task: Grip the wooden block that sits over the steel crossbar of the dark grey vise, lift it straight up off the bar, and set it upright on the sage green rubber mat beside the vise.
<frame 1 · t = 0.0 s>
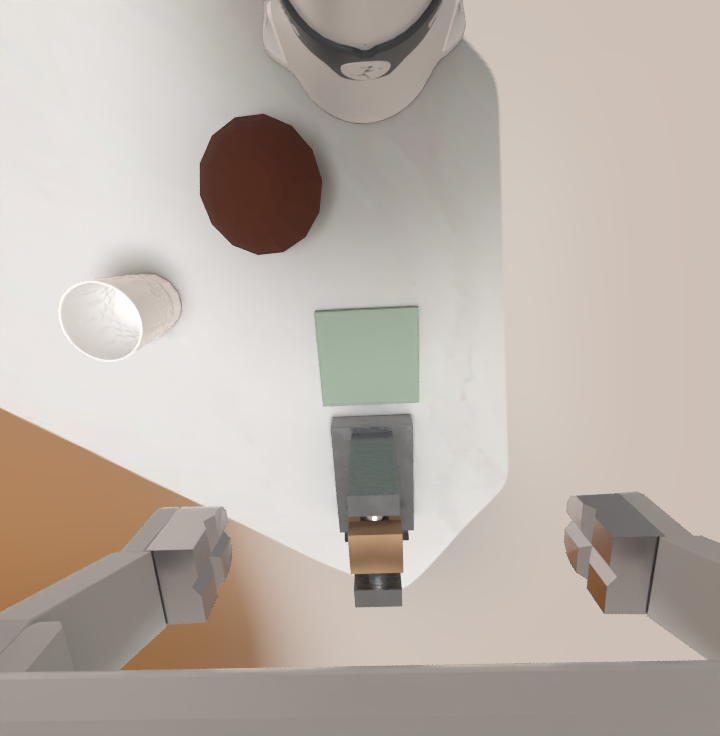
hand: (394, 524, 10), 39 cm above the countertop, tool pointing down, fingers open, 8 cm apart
mat: (368, 357, 49), on the countertop
vise: (373, 468, 55), on the countertop
wooden block: (374, 502, 48), point 7 cm above the countertop, touching vise
white cup: (154, 302, 47), on the countertop
muffin: (276, 192, 43), on the countertop
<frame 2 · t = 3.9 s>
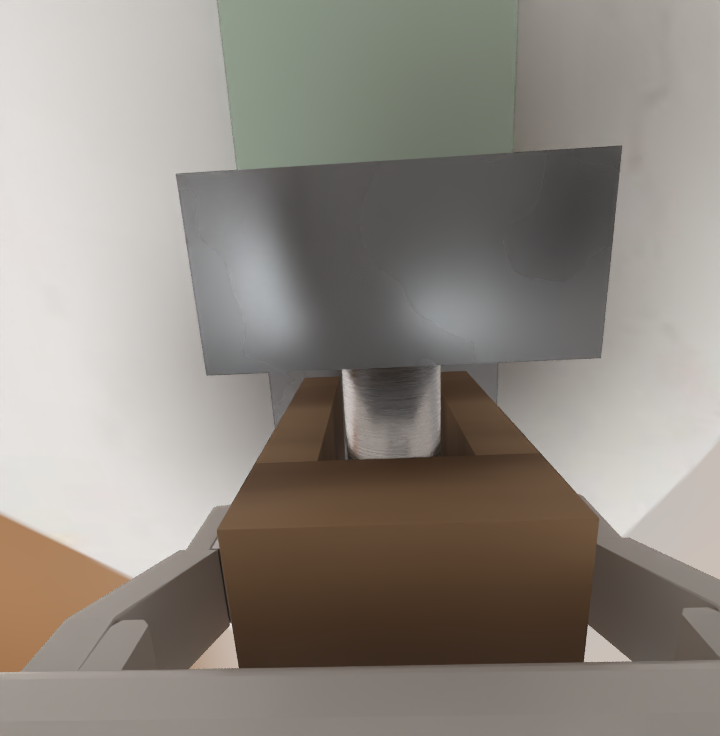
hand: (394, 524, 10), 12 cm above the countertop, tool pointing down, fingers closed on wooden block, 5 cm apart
mat: (367, 20, 17), on the countertop
vise: (381, 384, 21), on the countertop
wooden block: (387, 443, 14), point 7 cm above the countertop, touching gripper, vise
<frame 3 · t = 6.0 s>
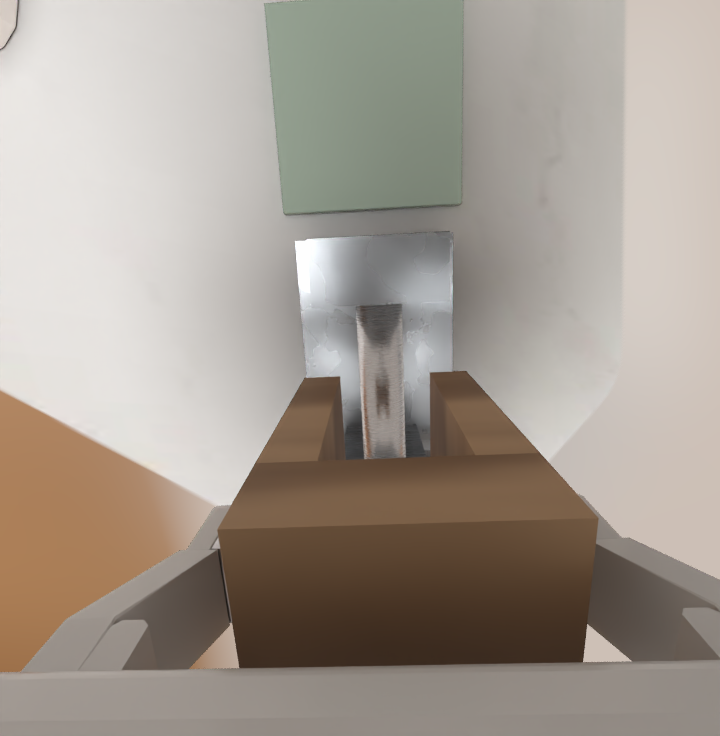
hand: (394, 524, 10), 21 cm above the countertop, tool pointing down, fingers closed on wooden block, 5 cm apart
mat: (367, 112, 26), on the countertop
vise: (377, 351, 30), on the countertop
wooden block: (387, 443, 14), point 17 cm above the countertop, touching gripper
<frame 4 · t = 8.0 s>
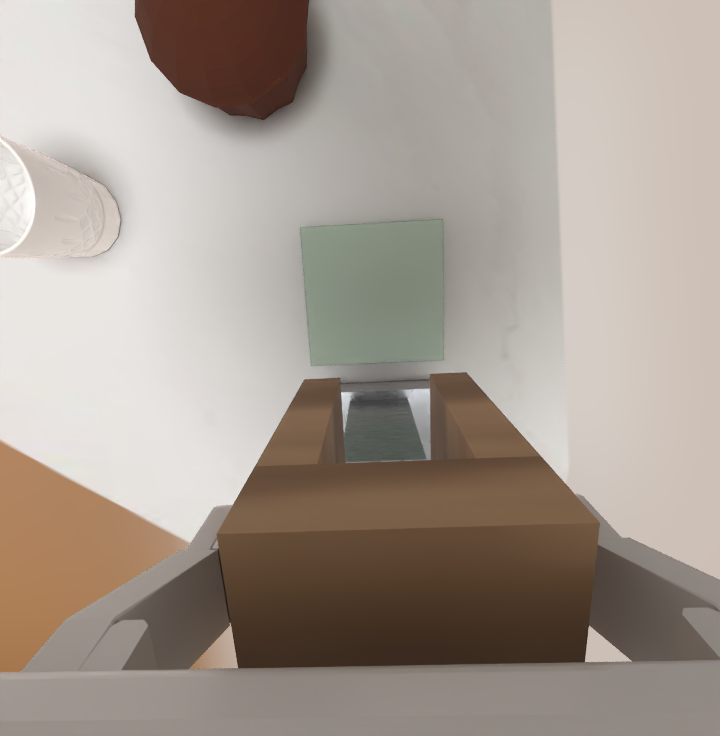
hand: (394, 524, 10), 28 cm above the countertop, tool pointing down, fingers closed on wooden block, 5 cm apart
mat: (373, 295, 36), on the countertop
vise: (381, 461, 39), on the countertop
wooden block: (387, 444, 14), point 23 cm above the countertop, touching gripper
white cup: (84, 217, 35), on the countertop
muffin: (251, 61, 32), on the countertop
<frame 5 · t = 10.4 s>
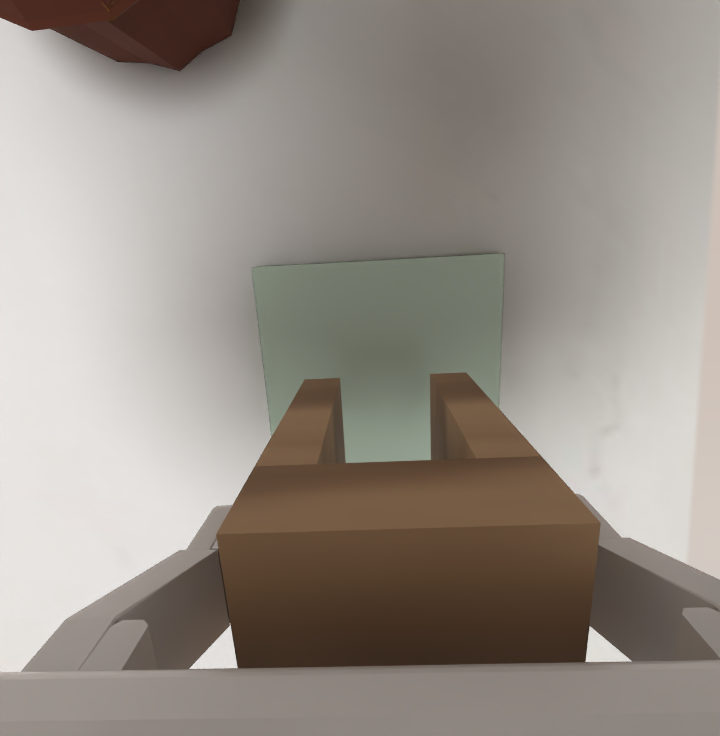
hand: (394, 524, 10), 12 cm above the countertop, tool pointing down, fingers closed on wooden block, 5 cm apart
mat: (381, 377, 21), on the countertop
wooden block: (387, 444, 14), point 8 cm above the countertop, touching gripper
when the fingers open (7 cm above the countertop, at t = 12.3 s): wooden block drops 1 cm, resting on mat.
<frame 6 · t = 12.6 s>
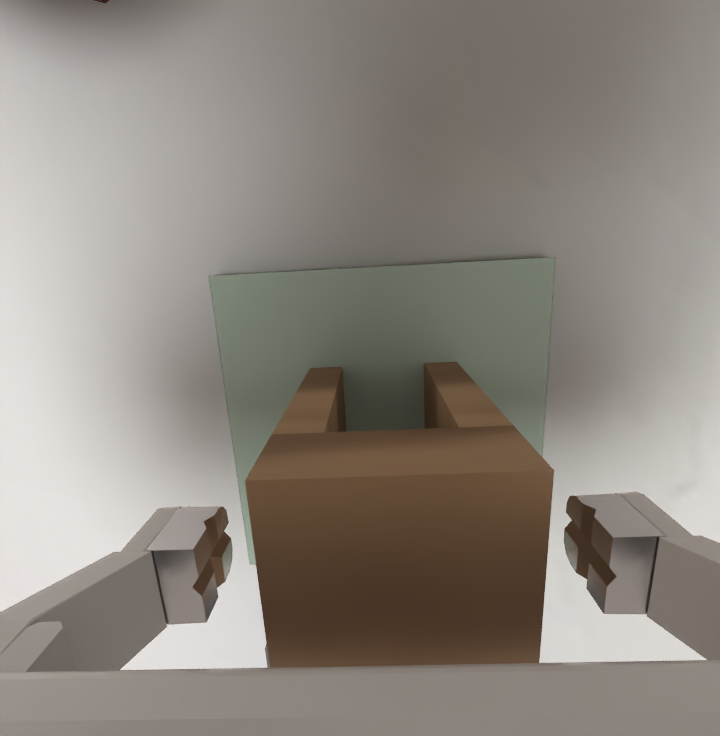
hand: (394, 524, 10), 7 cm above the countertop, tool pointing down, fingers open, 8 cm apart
mat: (384, 419, 16), on the countertop
wooden block: (385, 428, 15), point 1 cm above the countertop, touching mat
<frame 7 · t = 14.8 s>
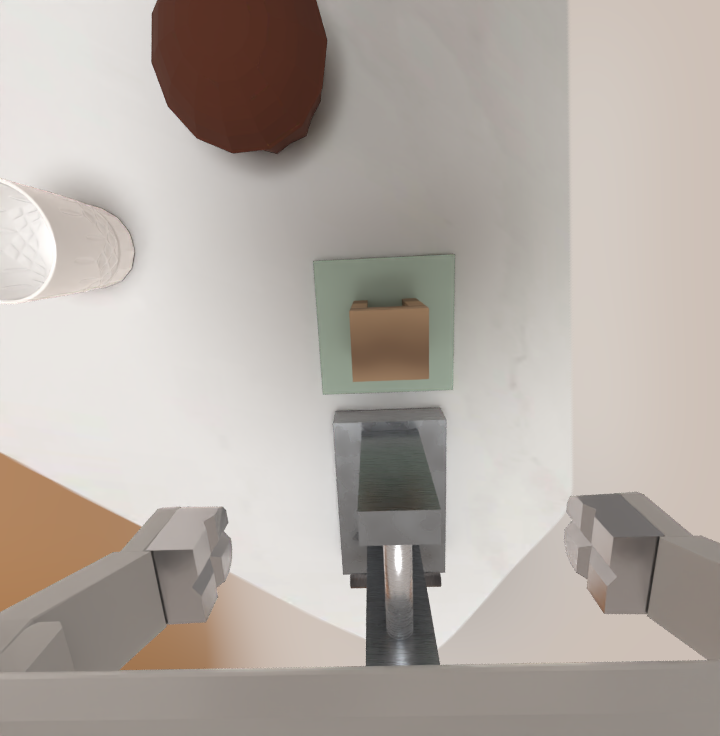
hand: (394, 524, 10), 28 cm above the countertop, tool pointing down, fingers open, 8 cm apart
mat: (385, 326, 36), on the countertop
vise: (390, 484, 40), on the countertop
wooden block: (385, 327, 36), point 1 cm above the countertop, touching mat
white cup: (98, 247, 35), on the countertop
muffin: (265, 94, 32), on the countertop
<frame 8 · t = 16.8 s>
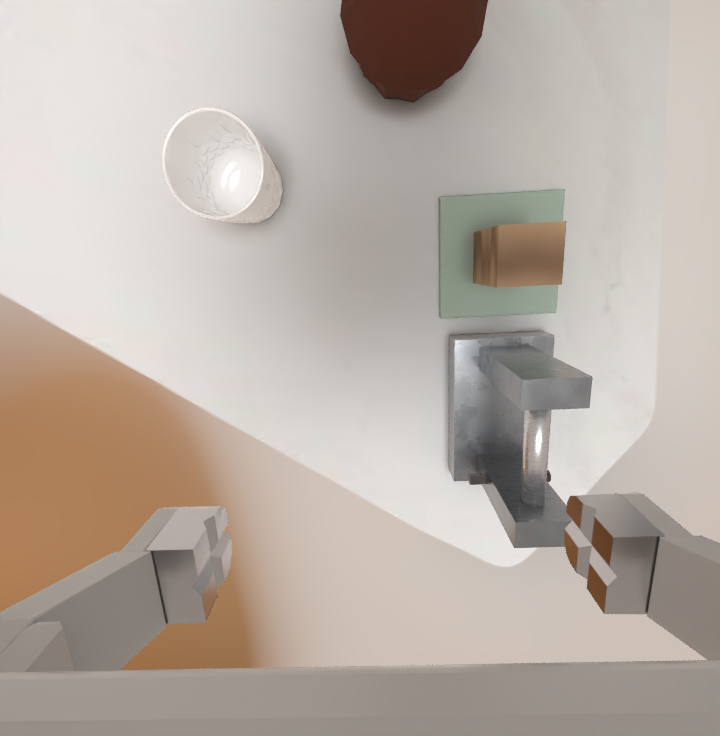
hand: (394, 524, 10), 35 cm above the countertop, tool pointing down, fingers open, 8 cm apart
mat: (497, 256, 42), on the countertop
vise: (493, 402, 46), on the countertop
wooden block: (500, 256, 41), point 1 cm above the countertop, touching mat
white cup: (250, 188, 41), on the countertop
muffin: (406, 50, 37), on the countertop
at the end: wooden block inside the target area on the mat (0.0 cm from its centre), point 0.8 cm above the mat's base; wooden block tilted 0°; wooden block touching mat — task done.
